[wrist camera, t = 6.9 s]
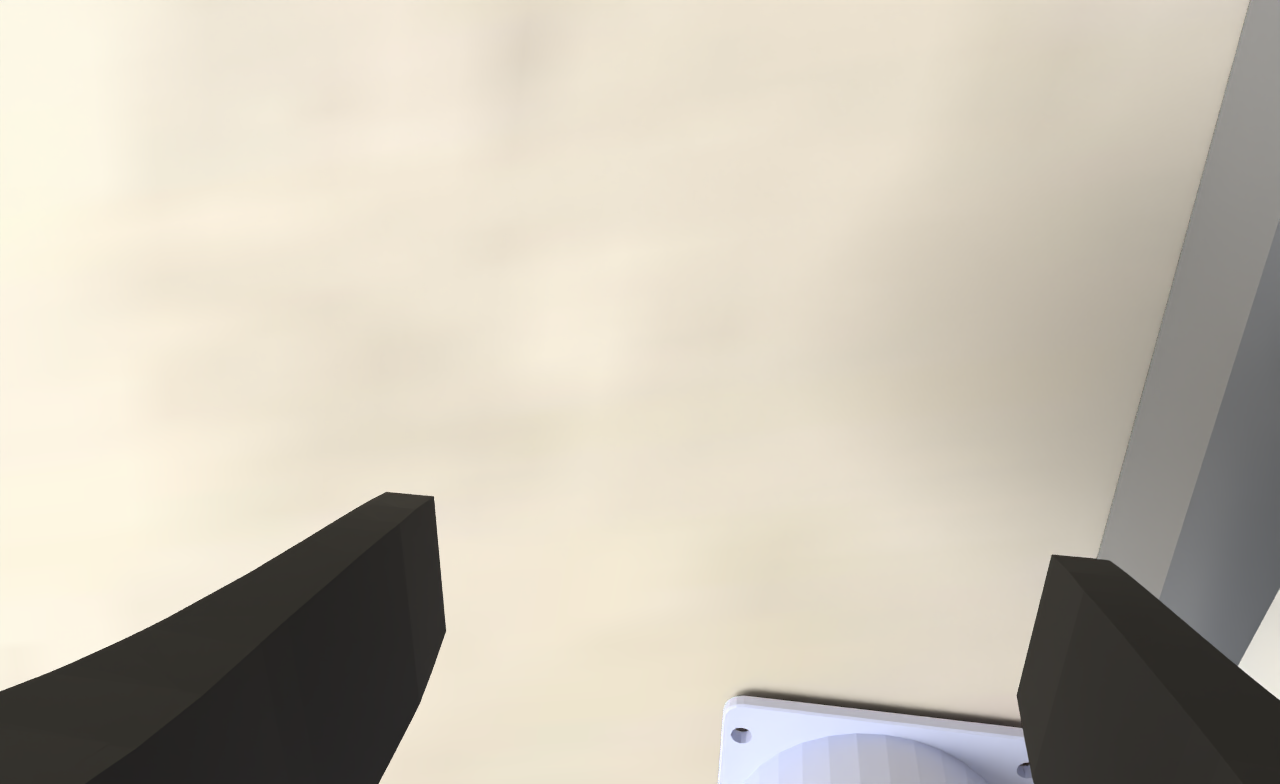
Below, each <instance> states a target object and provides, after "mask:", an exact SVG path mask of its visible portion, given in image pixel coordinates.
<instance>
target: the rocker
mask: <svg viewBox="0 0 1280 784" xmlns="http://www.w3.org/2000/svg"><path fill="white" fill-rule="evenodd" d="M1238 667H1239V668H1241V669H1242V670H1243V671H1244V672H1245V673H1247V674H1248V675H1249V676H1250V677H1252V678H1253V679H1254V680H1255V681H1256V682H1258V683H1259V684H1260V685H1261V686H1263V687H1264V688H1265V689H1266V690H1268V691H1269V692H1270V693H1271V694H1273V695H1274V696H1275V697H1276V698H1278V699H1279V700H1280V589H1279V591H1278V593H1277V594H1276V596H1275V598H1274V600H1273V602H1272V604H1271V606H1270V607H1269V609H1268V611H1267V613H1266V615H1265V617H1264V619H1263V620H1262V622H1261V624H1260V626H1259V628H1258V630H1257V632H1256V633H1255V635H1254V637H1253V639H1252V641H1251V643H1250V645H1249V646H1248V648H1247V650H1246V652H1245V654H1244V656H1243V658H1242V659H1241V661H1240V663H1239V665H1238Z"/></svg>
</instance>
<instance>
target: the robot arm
mask: <svg viewBox="0 0 1280 784" xmlns="http://www.w3.org/2000/svg"><path fill="white" fill-rule="evenodd" d="M445 633H446V625H445V614H444V603H443V592H442V581H441V570H440V559H439V548H438V537H437V526H436V515H435V504H434V496H423V495H412V494H402V493H391V492H385V493H383V494H382V495H380V496H378V497H376V498H374V499H372V500H370V501H368V502H366V503H365V504H363V505H361V506H359V507H358V508H356V509H354V510H353V511H351V512H349V513H348V514H346V515H344V516H343V517H341V518H339V519H338V520H336V521H334V522H333V523H331V524H329V525H328V526H326V527H325V528H323V529H321V530H320V531H318V532H316V533H315V534H313V535H311V536H310V537H308V538H307V539H305V540H303V541H302V542H300V543H298V544H297V545H295V546H293V547H292V548H290V549H288V550H287V551H285V552H283V553H282V554H280V555H278V556H277V557H275V558H273V559H272V560H270V561H268V562H267V563H265V564H263V565H262V566H260V567H258V568H257V569H255V570H253V571H252V572H250V573H248V574H246V575H245V576H243V577H241V578H239V579H237V580H235V581H234V582H232V583H230V584H228V585H226V586H224V587H223V588H221V589H219V590H217V591H215V592H214V593H212V594H210V595H208V596H206V597H204V598H203V599H201V600H199V601H197V602H195V603H194V604H192V605H190V606H188V607H186V608H184V609H183V610H181V611H179V612H177V613H175V614H173V615H172V616H170V617H168V618H166V619H164V620H162V621H160V622H158V623H156V624H154V625H152V626H150V627H148V628H146V629H144V630H142V631H140V632H138V633H136V634H134V635H132V636H130V637H128V638H126V639H123V640H121V641H119V642H117V643H115V644H113V645H110V646H108V647H106V648H104V649H102V650H99V651H97V652H95V653H93V654H90V655H88V656H86V657H84V658H82V659H79V660H77V661H75V662H73V663H71V664H68V665H66V666H64V667H61V668H59V669H56V670H54V671H52V672H49V673H47V674H44V675H42V676H39V677H37V678H34V679H31V680H29V681H26V682H24V683H21V684H18V685H16V686H13V687H11V688H8V689H5V690H3V691H0V784H379V782H380V780H381V778H382V776H383V774H384V772H385V770H386V768H387V767H388V765H389V763H390V761H391V759H392V757H393V755H394V753H395V751H396V749H397V747H398V745H399V743H400V741H401V740H402V738H403V736H404V734H405V732H406V730H407V728H408V726H409V724H410V722H411V720H412V718H413V716H414V714H415V712H416V710H417V708H418V706H419V704H420V702H421V699H422V696H423V694H424V691H425V688H426V686H427V683H428V680H429V678H430V675H431V673H432V670H433V667H434V664H435V661H436V658H437V655H438V653H439V650H440V647H441V644H442V641H443V638H444V635H445ZM1017 699H1018V705H1019V711H1020V717H1021V722H1022V728H1017V727H1009V726H1000V725H992V724H983V723H975V722H966V721H957V720H949V719H940V718H932V717H923V716H915V715H906V714H898V713H889V712H880V711H872V710H863V709H855V708H846V707H838V706H829V705H820V704H812V703H803V702H795V701H786V700H778V699H769V698H760V697H752V696H735V697H733V698H730V699H729V700H728V701H727V702H726V703H725V706H724V710H723V722H722V736H721V749H720V763H719V777H718V784H1280V700H1279V699H1278V698H1276V697H1275V696H1274V695H1273V694H1271V693H1270V692H1269V691H1268V690H1266V689H1265V688H1264V687H1263V686H1261V685H1260V684H1259V683H1258V682H1256V681H1255V680H1254V679H1253V678H1252V677H1250V676H1249V675H1248V674H1247V673H1245V672H1244V671H1243V670H1242V669H1241V668H1239V667H1238V666H1237V665H1236V664H1235V663H1233V662H1232V661H1231V660H1230V659H1228V658H1227V657H1226V656H1225V655H1224V654H1222V653H1221V652H1220V651H1219V650H1218V649H1216V648H1215V647H1214V646H1213V645H1212V644H1211V643H1209V642H1208V641H1207V640H1206V639H1205V638H1203V637H1202V636H1201V635H1200V634H1199V633H1197V632H1196V631H1195V630H1194V629H1193V628H1192V627H1190V626H1189V625H1188V624H1187V623H1186V622H1184V621H1183V620H1182V619H1181V618H1180V617H1179V616H1177V615H1176V614H1175V613H1174V612H1173V611H1172V610H1170V609H1169V608H1168V607H1167V606H1166V605H1164V604H1163V603H1162V602H1161V601H1160V600H1159V599H1157V598H1156V597H1155V596H1154V595H1153V594H1151V593H1150V592H1149V591H1148V590H1147V589H1145V588H1144V587H1143V586H1142V585H1141V584H1139V583H1138V582H1137V581H1136V580H1135V579H1133V578H1132V577H1131V576H1130V575H1128V574H1127V573H1126V572H1125V571H1123V570H1122V569H1121V568H1119V567H1118V566H1117V565H1115V564H1114V563H1113V562H1111V561H1110V560H1104V559H1093V558H1082V557H1072V556H1061V555H1052V556H1051V560H1050V564H1049V568H1048V572H1047V576H1046V580H1045V584H1044V588H1043V592H1042V596H1041V600H1040V604H1039V608H1038V612H1037V616H1036V620H1035V624H1034V628H1033V632H1032V636H1031V640H1030V644H1029V648H1028V652H1027V656H1026V660H1025V664H1024V668H1023V672H1022V676H1021V680H1020V684H1019V688H1018V692H1017ZM736 728H745V729H747V730H748V731H745V732H741V731H738V730H736ZM1023 763H1029V764H1030V765H1028V766H1021V764H1023Z"/></svg>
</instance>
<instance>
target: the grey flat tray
mask: <svg viewBox="0 0 1280 784" xmlns="http://www.w3.org/2000/svg"><path fill="white" fill-rule="evenodd" d="M1097 559H1104V560H1110V561H1111V562H1113V563H1114V564H1115V565H1117V566H1118V567H1119V568H1121V569H1122V570H1123V571H1125V572H1126V573H1127V574H1128V575H1130V576H1131V577H1132V578H1133V579H1135V580H1136V581H1137V582H1138V583H1139V584H1141V585H1142V586H1143V587H1144V588H1145V589H1147V590H1148V591H1149V592H1150V593H1151V594H1153V595H1154V596H1155V597H1156V598H1157V599H1159V600H1160V601H1161V602H1162V603H1163V604H1164V605H1166V606H1167V607H1168V608H1169V609H1170V610H1172V611H1173V612H1174V613H1175V614H1176V615H1177V616H1179V617H1180V618H1181V619H1182V620H1183V621H1184V622H1186V623H1187V624H1188V625H1189V626H1190V627H1192V628H1193V629H1194V630H1195V631H1196V632H1197V633H1199V634H1200V635H1201V636H1202V637H1203V638H1205V639H1206V640H1207V641H1208V642H1209V643H1211V644H1212V645H1213V646H1214V647H1215V648H1216V649H1218V650H1219V651H1220V652H1221V653H1222V654H1224V655H1225V656H1226V657H1227V658H1228V659H1230V660H1231V661H1232V662H1233V663H1235V664H1236V665H1237V666H1238V665H1239V663H1240V661H1241V659H1242V658H1243V656H1244V654H1245V652H1246V650H1247V648H1248V646H1249V645H1250V643H1251V641H1252V639H1253V637H1254V635H1255V633H1256V632H1257V630H1258V628H1259V626H1260V624H1261V622H1262V620H1263V619H1264V617H1265V615H1266V613H1267V611H1268V609H1269V607H1270V606H1271V604H1272V602H1273V600H1274V598H1275V596H1276V594H1277V593H1278V591H1279V589H1280V0H1250V3H1249V6H1248V10H1247V14H1246V17H1245V21H1244V25H1243V28H1242V32H1241V36H1240V39H1239V43H1238V46H1237V50H1236V54H1235V57H1234V61H1233V65H1232V68H1231V72H1230V76H1229V79H1228V83H1227V87H1226V90H1225V94H1224V97H1223V101H1222V105H1221V108H1220V112H1219V116H1218V119H1217V123H1216V127H1215V130H1214V134H1213V138H1212V141H1211V145H1210V148H1209V152H1208V156H1207V159H1206V163H1205V167H1204V170H1203V174H1202V178H1201V181H1200V185H1199V189H1198V192H1197V196H1196V199H1195V203H1194V207H1193V210H1192V214H1191V218H1190V221H1189V225H1188V229H1187V232H1186V236H1185V240H1184V243H1183V247H1182V250H1181V254H1180V258H1179V261H1178V265H1177V269H1176V272H1175V276H1174V280H1173V283H1172V287H1171V291H1170V294H1169V298H1168V301H1167V305H1166V309H1165V312H1164V316H1163V320H1162V323H1161V327H1160V331H1159V334H1158V338H1157V342H1156V345H1155V349H1154V352H1153V356H1152V360H1151V363H1150V367H1149V371H1148V374H1147V378H1146V382H1145V385H1144V389H1143V393H1142V396H1141V400H1140V403H1139V407H1138V411H1137V414H1136V418H1135V422H1134V425H1133V429H1132V433H1131V436H1130V440H1129V443H1128V447H1127V451H1126V454H1125V458H1124V462H1123V465H1122V469H1121V473H1120V476H1119V480H1118V484H1117V487H1116V491H1115V494H1114V498H1113V502H1112V505H1111V509H1110V513H1109V516H1108V520H1107V524H1106V527H1105V531H1104V535H1103V538H1102V542H1101V545H1100V549H1099V553H1098V556H1097Z"/></svg>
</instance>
